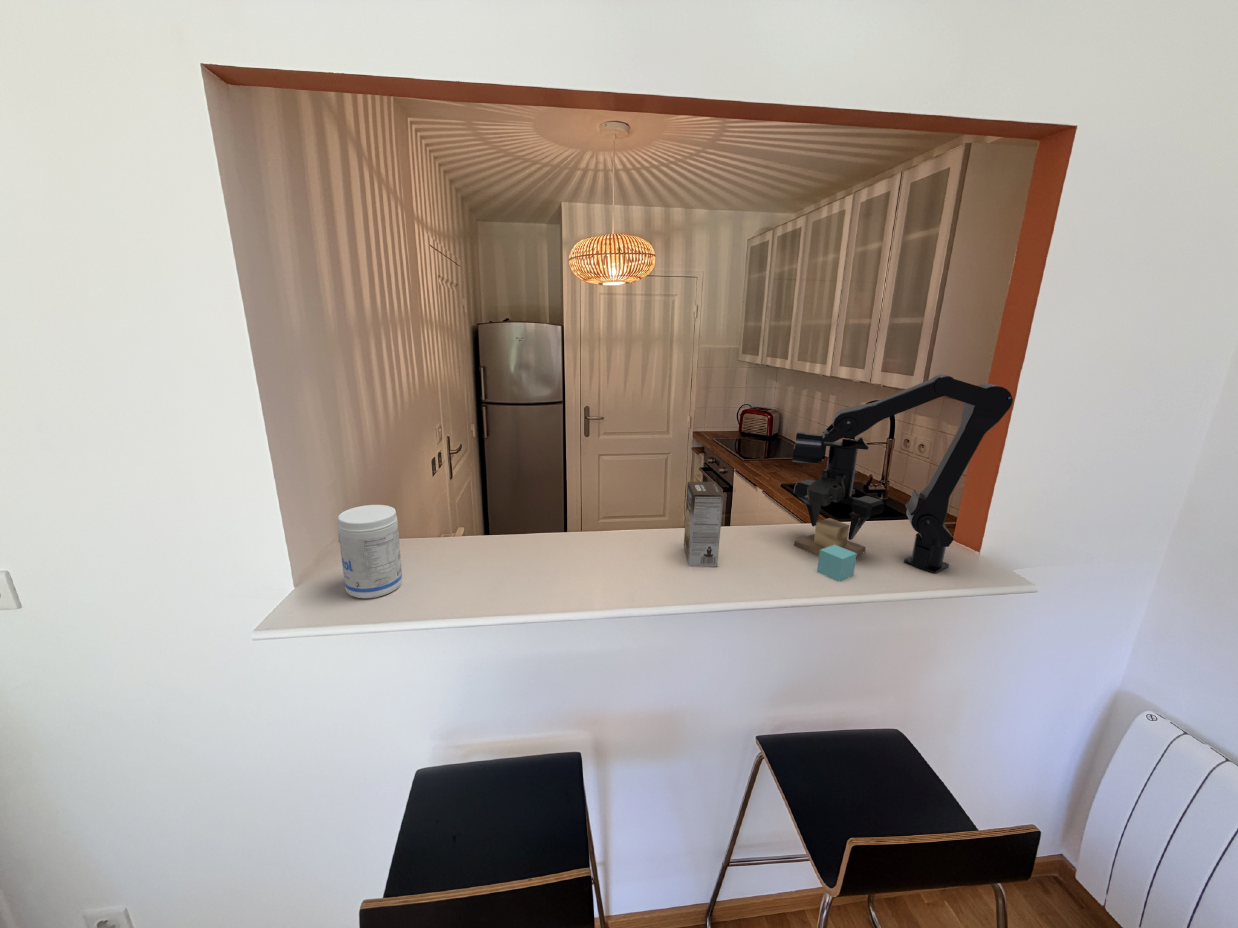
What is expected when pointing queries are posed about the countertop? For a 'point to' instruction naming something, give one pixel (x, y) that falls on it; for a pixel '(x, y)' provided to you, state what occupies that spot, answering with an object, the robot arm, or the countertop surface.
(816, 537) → the oak block
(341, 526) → the supplement tub
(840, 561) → the teal block
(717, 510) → the coffee box
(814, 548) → the walnut board
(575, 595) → the countertop surface
